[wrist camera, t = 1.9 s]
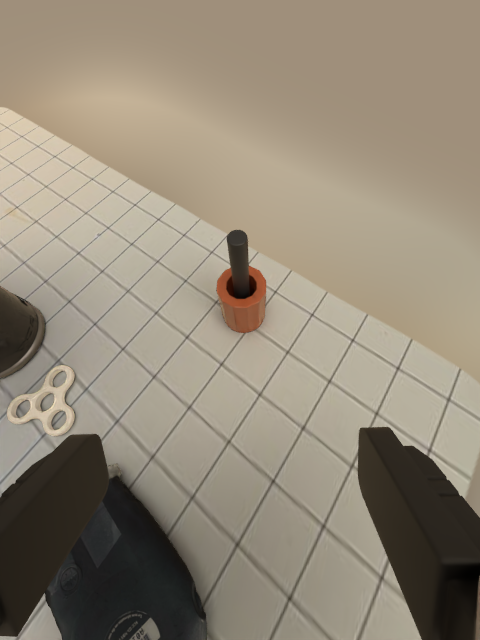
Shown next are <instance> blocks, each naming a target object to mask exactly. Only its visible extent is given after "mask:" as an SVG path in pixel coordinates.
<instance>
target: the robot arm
mask: <svg viewBox="0 0 480 640" xmlns="http://www.w3.org/2000/svg"><path fill="white" fill-rule="evenodd" d="M21 299H22V298H20V297H18V296H16V295H15V294H13V293H11V292H9V291H8V290H6V289H5V288H3V287H1V286H0V379H1V378H4V377H6V376H8V375H11V374H12V373H14V372H16V371H17V370H19V369H20V368H22V367H23V366H24V365H25V364H26V363H27V362H28V361H29V360H30V359H31V358H32V357H33V356H34V355H35V353H36V352H37V350H38V349H39V347H40V345H41V343H42V340H43V337H44V333H45V322H44V318H43V316H42V314H41V313H40V311H39V310H38V309H37V308H35V307H34V306H32V305H31V304H29V302H27V301H26V300H24V299H22V300H21ZM23 300H24V301H23ZM358 479H359V485H360V489H361V493H362V496H363V498H364V501H365V503H366V506H367V508H368V511H369V513H370V515H371V518H372V520H373V523H374V525H375V527H376V530H377V532H378V535H379V537H380V540H381V542H382V544H383V547H384V549H385V552H386V554H387V556H388V559H389V561H390V564H391V566H392V568H393V571H394V573H395V576H396V578H397V581H398V583H399V585H400V588H401V590H402V593H403V595H404V597H405V600H406V602H407V605H408V607H409V610H410V612H411V614H412V617H413V619H414V622H415V624H416V626H417V629H418V631H419V634H420V636H421V639H422V640H480V518H479V517H478V515H477V514H476V513H475V512H474V510H473V509H472V508H471V507H470V506H469V504H468V503H467V502H466V501H465V499H464V498H463V497H462V496H460V495H459V493H458V491H457V490H456V488H455V487H454V486H453V485H452V483H451V482H450V481H449V480H447V479H446V476H445V475H444V474H443V472H442V471H441V470H440V469H439V467H438V466H437V465H436V464H435V463H434V461H433V460H432V459H431V458H429V457H428V456H426V455H425V454H424V453H422V452H421V451H419V450H418V449H417V448H415V447H414V446H403V445H402V444H401V442H400V441H399V440H398V438H397V437H396V435H395V434H394V433H393V431H392V430H391V429H390V428H389V427H372V428H360V430H359V447H358ZM108 484H109V472H108V468H107V464H106V460H105V455H104V451H103V447H102V443H101V439H100V437H99V436H98V435H97V434H79V435H70V436H69V437H67V438H66V439H65V440H64V441H63V442H62V443H61V444H60V445H59V446H58V447H57V448H56V449H55V450H54V451H53V452H52V453H50V454H48V455H47V456H45V457H44V458H42V459H41V460H39V461H38V462H36V463H35V464H33V465H32V466H31V467H30V468H29V469H28V470H26V471H25V472H24V473H23V474H22V475H21V476H20V477H19V478H18V479H17V480H16V483H15V484H12V485H11V486H10V487H9V488H8V489H7V490H6V491H4V492H3V493H2V496H1V497H0V636H13V637H17V636H18V634H19V633H20V631H21V630H22V628H23V626H24V625H25V623H26V622H27V620H28V618H29V617H30V615H31V614H32V612H33V610H34V609H35V607H36V606H37V604H38V602H39V601H40V599H41V598H42V596H43V594H44V593H45V591H46V590H47V588H48V586H49V585H50V583H51V582H52V580H53V578H54V577H55V575H56V574H57V572H58V570H59V569H60V567H61V566H62V564H63V562H64V561H65V559H66V558H67V556H68V554H69V553H70V551H71V550H72V548H73V546H74V545H75V543H76V542H77V540H78V538H79V537H80V535H81V533H82V532H83V530H84V529H85V527H86V525H87V524H88V522H89V521H90V519H91V517H92V516H93V514H94V513H95V511H96V509H97V508H98V506H99V505H100V503H101V501H102V500H103V498H104V496H105V494H106V492H107V489H108Z"/></svg>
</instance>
